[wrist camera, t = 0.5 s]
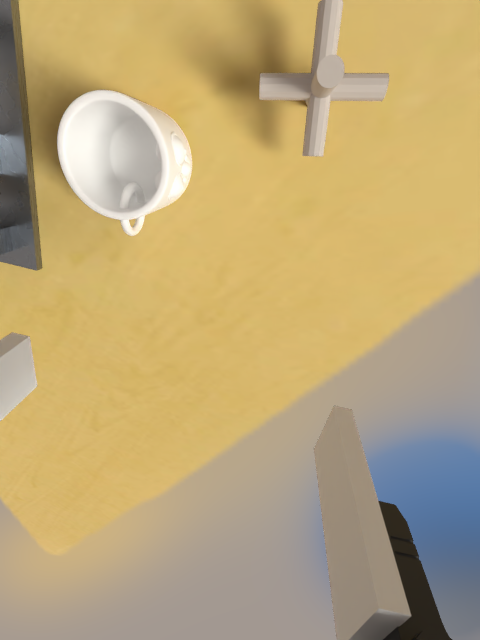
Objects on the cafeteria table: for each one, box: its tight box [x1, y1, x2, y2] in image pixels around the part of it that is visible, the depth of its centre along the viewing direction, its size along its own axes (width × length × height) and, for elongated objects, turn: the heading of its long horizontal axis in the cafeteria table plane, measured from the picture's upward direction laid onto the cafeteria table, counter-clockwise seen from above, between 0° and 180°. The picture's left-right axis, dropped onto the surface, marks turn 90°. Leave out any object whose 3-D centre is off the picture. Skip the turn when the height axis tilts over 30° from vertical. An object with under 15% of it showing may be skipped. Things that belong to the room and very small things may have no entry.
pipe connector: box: [259, 0, 389, 156], centre depth 25 cm, size 10×10×10 cm
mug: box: [57, 90, 192, 236], centre depth 30 cm, size 12×10×9 cm
